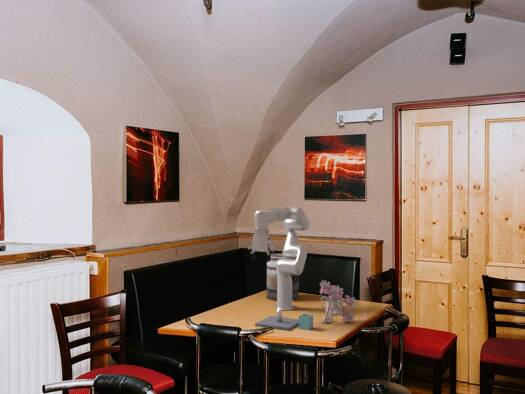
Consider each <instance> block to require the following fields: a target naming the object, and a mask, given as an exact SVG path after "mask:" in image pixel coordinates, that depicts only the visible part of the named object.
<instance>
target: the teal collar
mask: <svg viewBox="0 0 525 394" xmlns="http://www.w3.org/2000/svg"><path fill="white" fill-rule="evenodd" d="M298 319H299V325H298V330H299V329H300V330H306V331H307V330H308V331H310V330H311V329H313V328H314V314H310V313H301V314H299V315H298Z"/></svg>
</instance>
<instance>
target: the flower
mask: <svg viewBox="0 0 525 394" xmlns="http://www.w3.org/2000/svg"><path fill="white" fill-rule="evenodd" d="M319 286H320V290H319V293H320V295H323V296H321V298H320V299H319V300H320V301H321V300H325V299H327V301H326V300H325V301H326V302H329V307H328V311H327V314H326V313H325V314H326V315H324V316H323V317H322V321H321V324H325V323H330V324H332V323H333V321H334V317H335V316H342V319H341V320H342V321H343V322H347V321H348V322H349V323H352V322H353V321H355V319H354V318H355V317H356V316H355V315H354V313H351V310H350V308H352V309H353V308H355V307H356V306H357V299H356V297H351V296H349V295H347V294H346V295H344V297H345V298H344V299H343V294H344V288H343V287H342V288H341V287H340V285H332V284H331V282H330V281H327V280H326V279H325V280H323V279H321V281H320V283H319ZM326 295H328V296H326ZM329 296H330V297H331V299H330V297H329ZM333 300H334V301H335V302H334V301H333ZM326 302H325V303H326ZM331 302H332V303H333V305H334V306H333V308H330V304H331ZM343 304H346V306H345V305H343ZM336 307H337V311H338V312H337V313H336V310H335V309H336ZM329 310H332V311H331V313H330V314H328V313H329ZM343 310H345V313H346V314H345V313H344V312H343ZM333 311H334V313H335V315H331V314H332V312H333Z"/></svg>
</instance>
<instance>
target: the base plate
mask: <svg viewBox="0 0 525 394" xmlns="http://www.w3.org/2000/svg"><path fill="white" fill-rule="evenodd" d="M254 325H255V327H258V326H260V327H259V328H265V327H269V326H271V327H274V329H273V330H281V331H287V332H289V331H291V330H293V329H294V328H296V327H299V318H289V317H283V316H282V322H277V315H276V316H275V315H270V316H268V317H266V318H263V319H261V320H259V321H258V322H255V324H254Z"/></svg>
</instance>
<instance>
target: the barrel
mask: <svg viewBox="0 0 525 394" xmlns="http://www.w3.org/2000/svg"><path fill="white" fill-rule="evenodd" d="M279 259H289V258H285V257H284V256H283V252H281V253H278V252H277V253H272V254H271V260H270V262H267V261H266V299H268V300H270V301H274V302H275V301H276V302H277V270H276V263H277V261H278V260H279ZM295 260H296V259H295ZM289 275H290V276H291V279H292V300H293V301H297V300H299V296H300V295H299V291H300V289H299V287H300V285H299V284H300V283H299V282H300V275H293V274H289Z"/></svg>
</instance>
